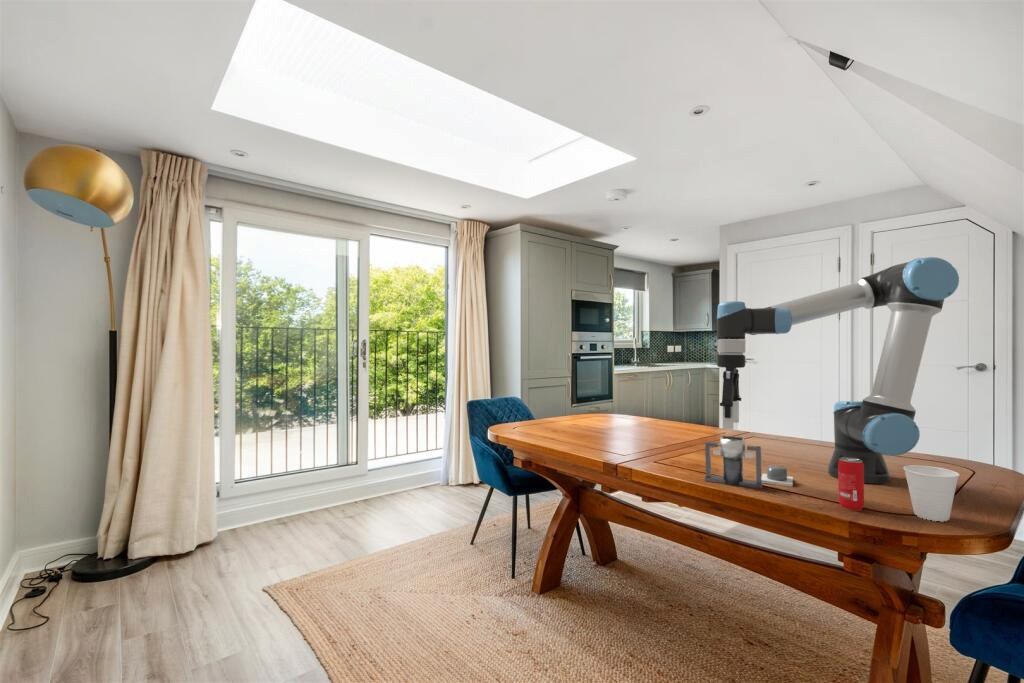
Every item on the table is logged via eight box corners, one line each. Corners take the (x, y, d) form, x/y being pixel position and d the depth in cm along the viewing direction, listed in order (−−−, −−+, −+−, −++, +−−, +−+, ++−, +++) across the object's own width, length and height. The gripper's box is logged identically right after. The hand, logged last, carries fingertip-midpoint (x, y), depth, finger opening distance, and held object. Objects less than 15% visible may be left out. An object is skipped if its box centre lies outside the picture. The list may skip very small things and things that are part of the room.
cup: (914, 522, 107) (913, 474, 107) (896, 508, 116) (895, 463, 116) (970, 528, 103) (969, 478, 103) (947, 512, 112) (946, 466, 112)
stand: (792, 479, 141) (792, 466, 141) (792, 486, 134) (792, 472, 134) (762, 475, 145) (762, 463, 145) (760, 482, 138) (760, 469, 138)
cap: (753, 455, 138) (753, 436, 138) (751, 460, 133) (751, 440, 133) (715, 451, 144) (714, 433, 144) (711, 456, 138) (711, 437, 138)
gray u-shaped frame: (762, 484, 136) (762, 445, 136) (761, 489, 132) (760, 449, 132) (707, 477, 144) (706, 440, 144) (704, 481, 140) (703, 443, 140)
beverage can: (833, 504, 119) (832, 457, 119) (852, 503, 119) (851, 456, 120) (850, 511, 114) (849, 462, 114) (869, 510, 114) (869, 461, 114)
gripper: (723, 352, 151) (723, 418, 151) (710, 354, 130) (710, 431, 130) (749, 353, 147) (749, 420, 147) (740, 355, 126) (740, 433, 126)
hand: (731, 425), depth 138 cm, fingers open, 13 cm apart
